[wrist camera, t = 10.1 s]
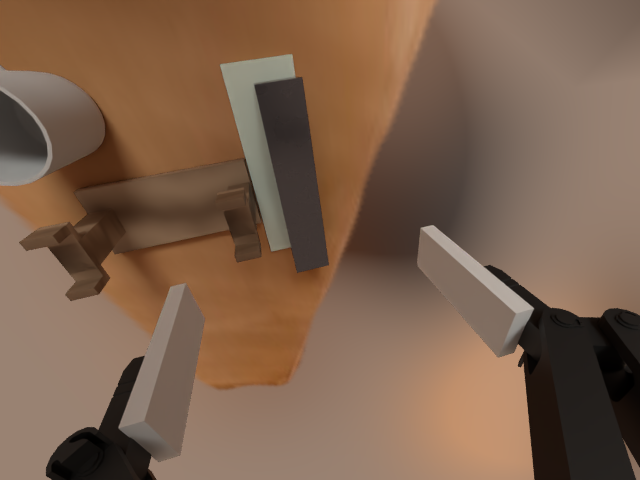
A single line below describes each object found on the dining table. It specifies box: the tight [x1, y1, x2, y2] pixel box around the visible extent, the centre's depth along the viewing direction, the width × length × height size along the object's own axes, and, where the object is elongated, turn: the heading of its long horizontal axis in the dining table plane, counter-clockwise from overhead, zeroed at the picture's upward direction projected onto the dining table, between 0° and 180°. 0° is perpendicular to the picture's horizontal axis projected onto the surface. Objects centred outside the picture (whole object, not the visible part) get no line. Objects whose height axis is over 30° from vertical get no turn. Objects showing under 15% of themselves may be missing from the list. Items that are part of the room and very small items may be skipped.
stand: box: [19, 158, 262, 301], centre depth 28 cm, size 8×18×10 cm, turn 99°
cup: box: [0, 65, 105, 186], centre depth 21 cm, size 7×10×9 cm
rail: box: [253, 77, 329, 273], centre depth 30 cm, size 4×20×6 cm, turn 9°
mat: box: [220, 54, 295, 252], centre depth 32 cm, size 22×7×1 cm, turn 9°
